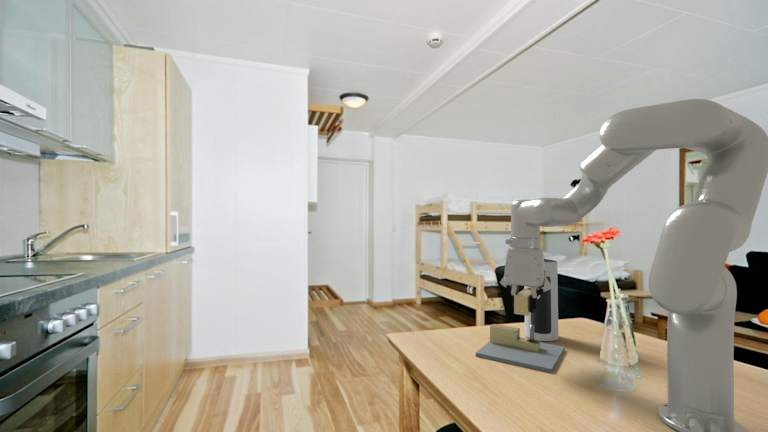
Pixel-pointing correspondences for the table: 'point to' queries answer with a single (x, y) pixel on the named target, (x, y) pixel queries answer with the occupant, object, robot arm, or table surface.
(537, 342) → the fixed leaf
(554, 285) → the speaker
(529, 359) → the grey base plate
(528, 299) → the beige block
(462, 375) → the table surface
